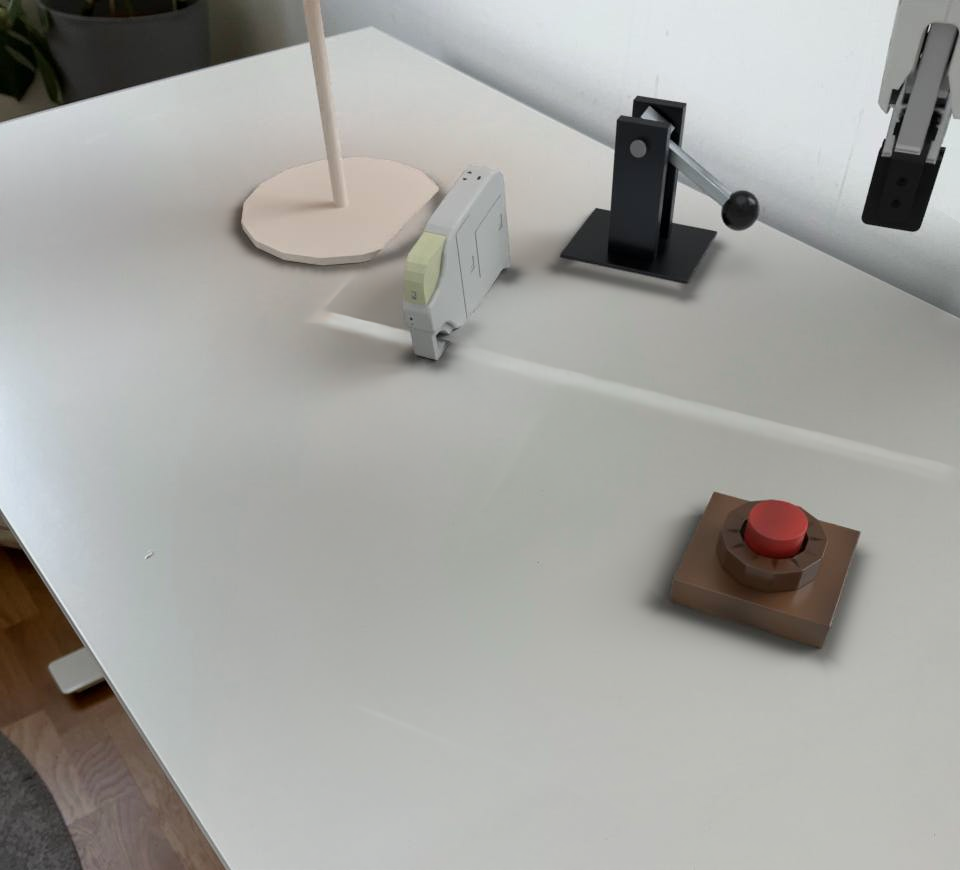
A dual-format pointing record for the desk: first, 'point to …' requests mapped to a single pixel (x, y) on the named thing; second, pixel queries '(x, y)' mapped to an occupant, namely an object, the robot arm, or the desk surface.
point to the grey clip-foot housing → (456, 258)
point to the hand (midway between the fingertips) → (891, 220)
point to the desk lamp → (333, 191)
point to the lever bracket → (643, 203)
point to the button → (775, 529)
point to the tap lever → (712, 185)
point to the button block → (764, 574)
